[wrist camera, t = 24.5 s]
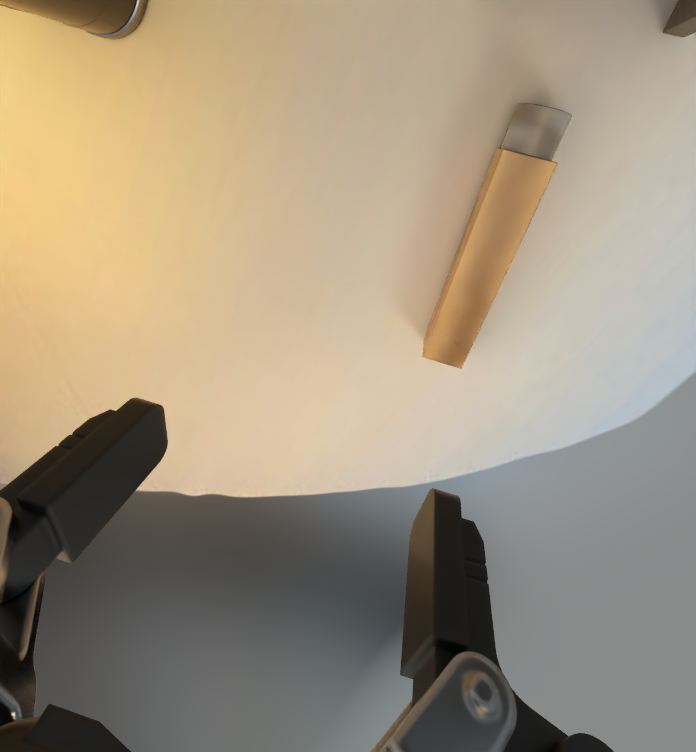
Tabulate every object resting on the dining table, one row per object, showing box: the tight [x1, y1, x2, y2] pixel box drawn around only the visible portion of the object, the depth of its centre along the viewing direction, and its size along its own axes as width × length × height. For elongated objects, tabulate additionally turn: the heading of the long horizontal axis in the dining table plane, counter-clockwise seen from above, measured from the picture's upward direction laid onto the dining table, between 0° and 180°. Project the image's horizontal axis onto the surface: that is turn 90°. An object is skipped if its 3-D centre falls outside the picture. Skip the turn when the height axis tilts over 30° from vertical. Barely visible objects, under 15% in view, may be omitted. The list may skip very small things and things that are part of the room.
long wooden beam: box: [423, 103, 572, 368], centre depth 34 cm, size 4×22×4 cm, turn 168°
